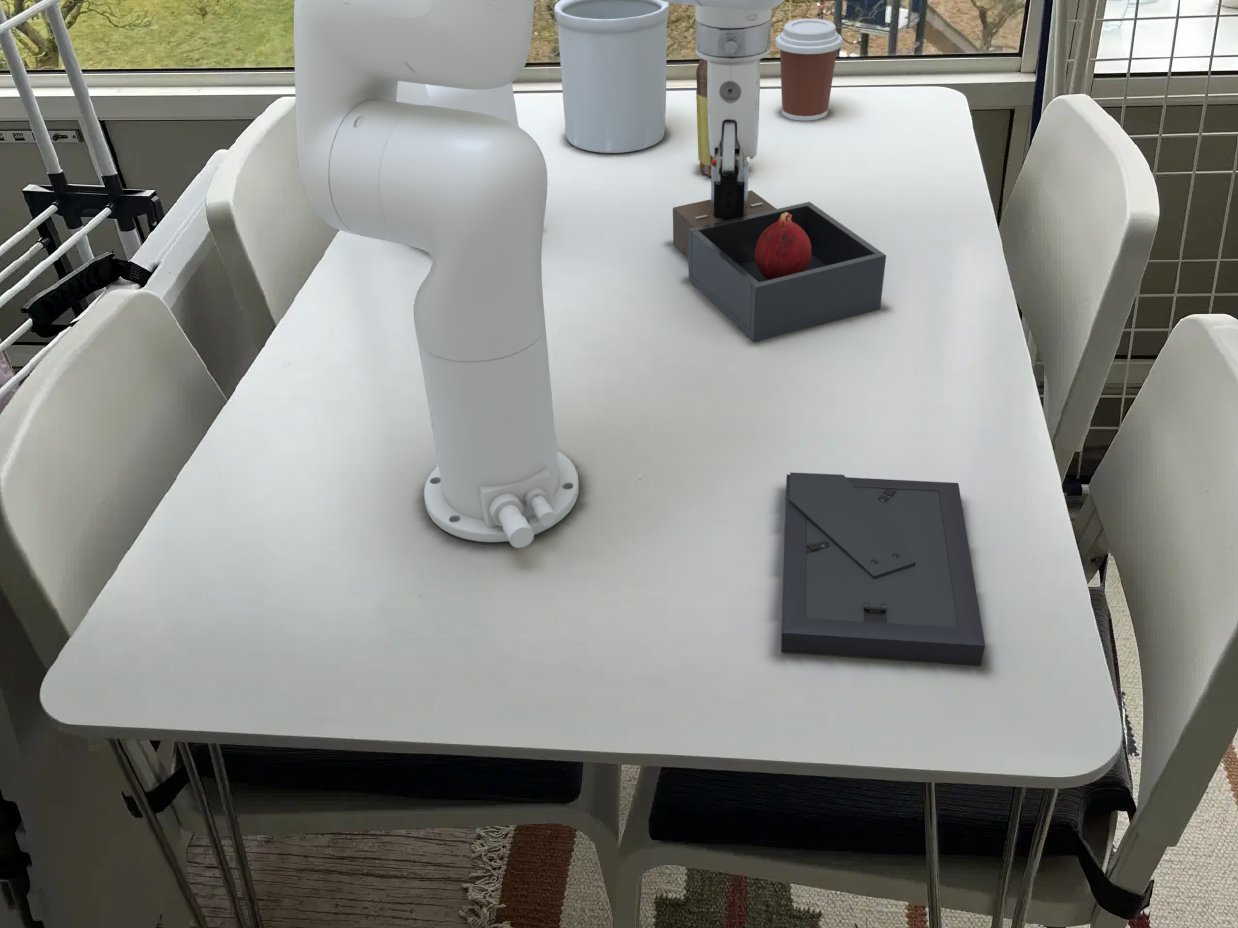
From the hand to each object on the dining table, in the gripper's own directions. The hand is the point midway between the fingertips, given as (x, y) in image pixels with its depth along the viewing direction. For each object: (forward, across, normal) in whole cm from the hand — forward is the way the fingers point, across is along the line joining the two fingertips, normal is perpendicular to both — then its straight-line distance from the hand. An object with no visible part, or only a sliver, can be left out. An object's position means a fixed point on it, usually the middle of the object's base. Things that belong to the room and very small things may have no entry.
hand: (729, 206), depth 125 cm
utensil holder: (+5, +35, +17) cm, 39 cm away
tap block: (+5, 0, 0) cm, 5 cm away
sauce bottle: (+5, +23, +2) cm, 23 cm away
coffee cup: (+5, +44, -9) cm, 45 cm away
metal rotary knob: (+1, 0, 0) cm, 1 cm away
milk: (+5, +3, +31) cm, 32 cm away
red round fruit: (+4, -10, -6) cm, 13 cm away
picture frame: (+5, -53, -13) cm, 55 cm away
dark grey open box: (+5, -10, -6) cm, 13 cm away
